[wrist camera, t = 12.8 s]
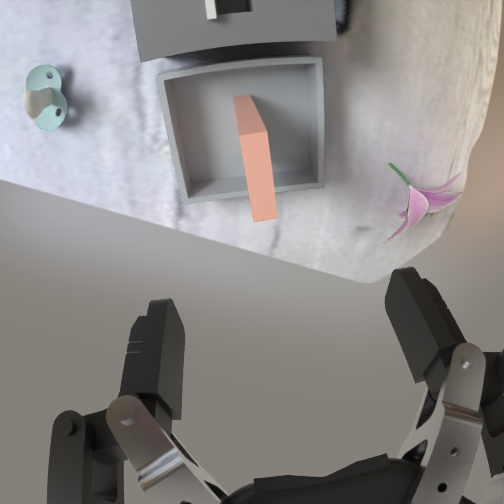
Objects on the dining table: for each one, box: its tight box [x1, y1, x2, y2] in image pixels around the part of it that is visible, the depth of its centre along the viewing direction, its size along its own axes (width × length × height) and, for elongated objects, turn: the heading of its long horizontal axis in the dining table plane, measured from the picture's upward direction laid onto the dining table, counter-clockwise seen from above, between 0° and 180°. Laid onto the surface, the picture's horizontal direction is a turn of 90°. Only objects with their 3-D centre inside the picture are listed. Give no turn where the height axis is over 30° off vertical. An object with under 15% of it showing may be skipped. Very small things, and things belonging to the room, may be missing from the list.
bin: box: [156, 55, 324, 205], centre depth 27 cm, size 14×13×4 cm
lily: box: [383, 163, 463, 244], centre depth 32 cm, size 12×12×10 cm
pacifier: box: [24, 65, 68, 131], centre depth 22 cm, size 7×6×6 cm
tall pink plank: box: [233, 94, 278, 222], centre depth 23 cm, size 2×6×13 cm, turn 8°
